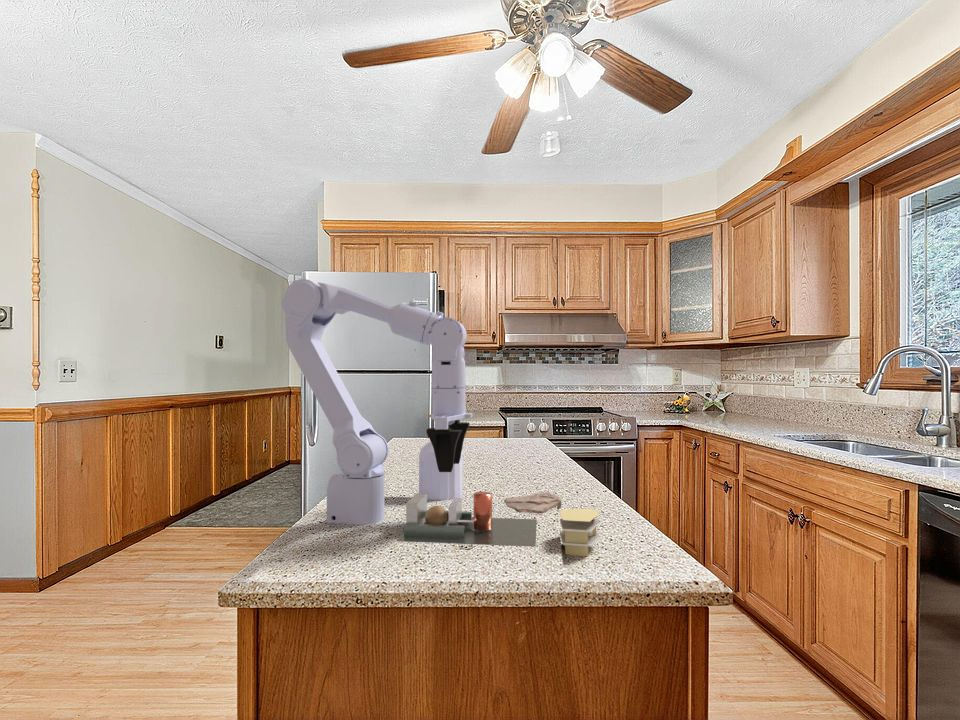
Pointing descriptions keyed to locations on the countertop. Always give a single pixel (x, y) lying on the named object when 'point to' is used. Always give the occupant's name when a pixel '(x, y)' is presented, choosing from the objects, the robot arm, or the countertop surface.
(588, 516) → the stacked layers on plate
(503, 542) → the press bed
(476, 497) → the ram
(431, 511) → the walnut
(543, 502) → the stone
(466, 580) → the countertop surface
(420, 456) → the soap bottle
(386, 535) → the countertop surface
